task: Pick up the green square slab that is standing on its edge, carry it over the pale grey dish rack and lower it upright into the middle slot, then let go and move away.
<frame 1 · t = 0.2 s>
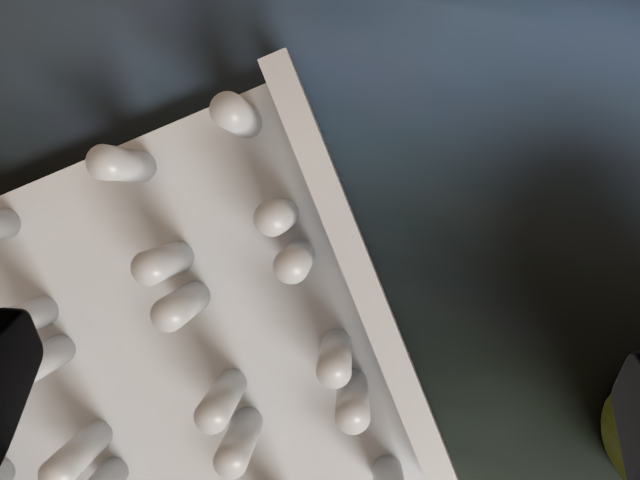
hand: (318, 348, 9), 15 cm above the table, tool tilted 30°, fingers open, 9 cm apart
dish rack: (154, 358, 24), on the table
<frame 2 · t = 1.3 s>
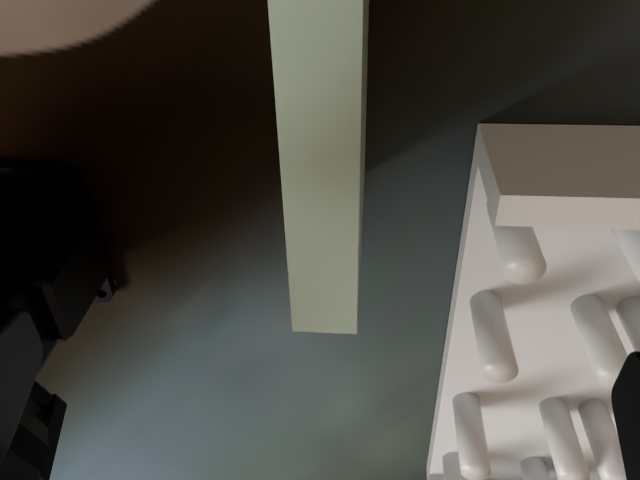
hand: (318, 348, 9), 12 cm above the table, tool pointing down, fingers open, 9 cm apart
green square slab: (342, 62, 18), on the table
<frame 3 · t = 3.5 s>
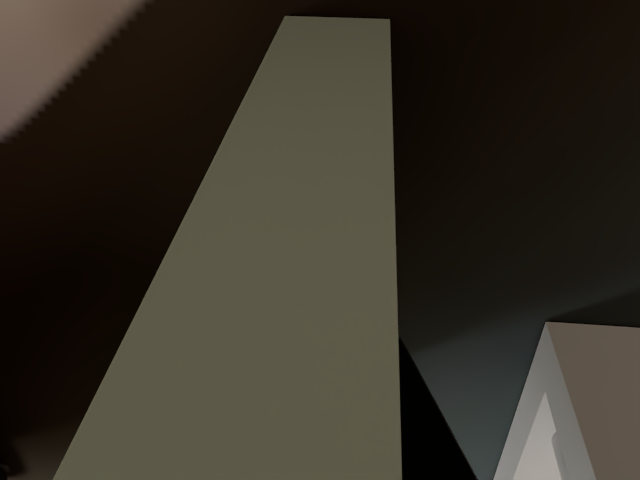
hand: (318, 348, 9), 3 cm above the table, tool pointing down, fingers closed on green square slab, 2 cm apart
green square slab: (332, 231, 11), on the table, touching gripper
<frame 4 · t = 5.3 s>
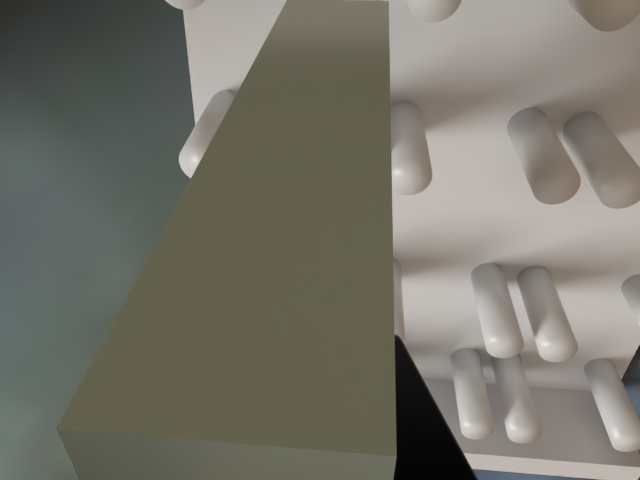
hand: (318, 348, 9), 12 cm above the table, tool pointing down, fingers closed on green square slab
green square slab: (333, 210, 11), point 8 cm above the table, touching gripper
dish rack: (445, 188, 20), on the table
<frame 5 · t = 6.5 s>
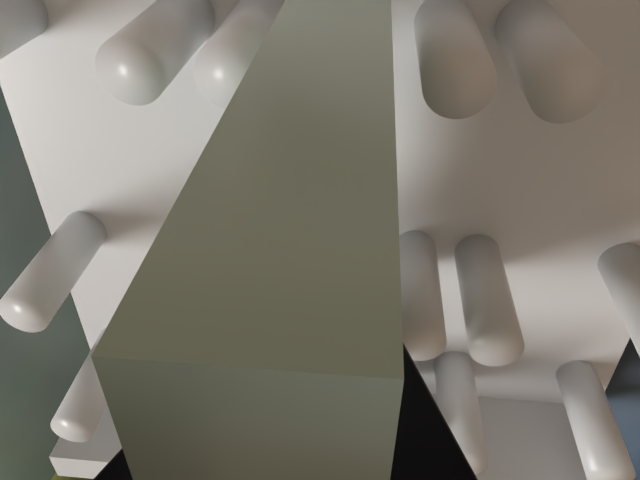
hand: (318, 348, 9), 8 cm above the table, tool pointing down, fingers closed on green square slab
green square slab: (335, 197, 12), point 4 cm above the table, touching gripper
dish rack: (350, 128, 15), on the table
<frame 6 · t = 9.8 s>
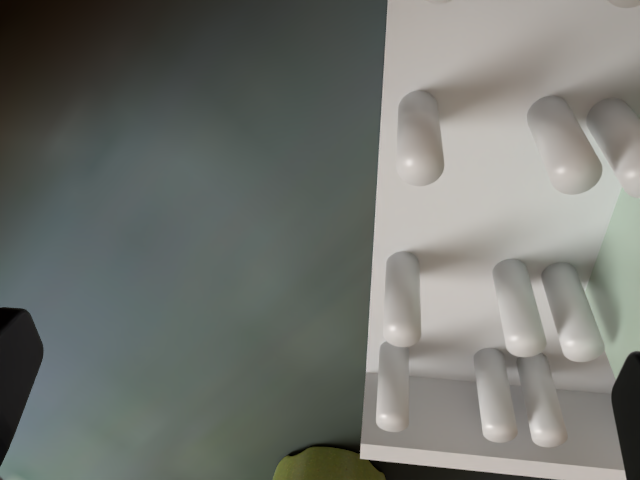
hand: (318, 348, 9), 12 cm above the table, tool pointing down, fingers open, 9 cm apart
plant pot: (332, 473, 32), on the table
dish rack: (633, 191, 19), on the table
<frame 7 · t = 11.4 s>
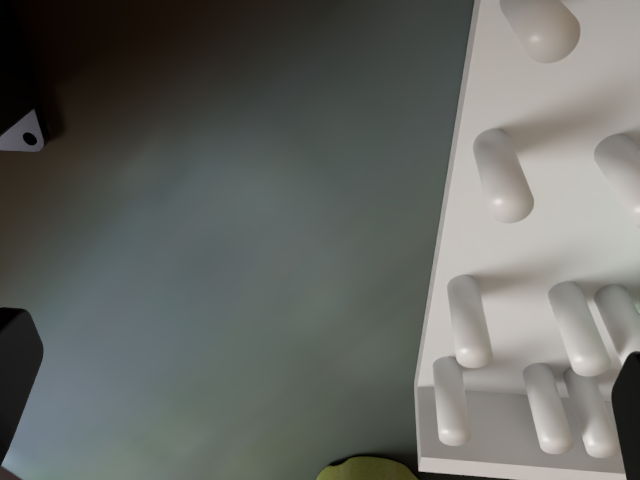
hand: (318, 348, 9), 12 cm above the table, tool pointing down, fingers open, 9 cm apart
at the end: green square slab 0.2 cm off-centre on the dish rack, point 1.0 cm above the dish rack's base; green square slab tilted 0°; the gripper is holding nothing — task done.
